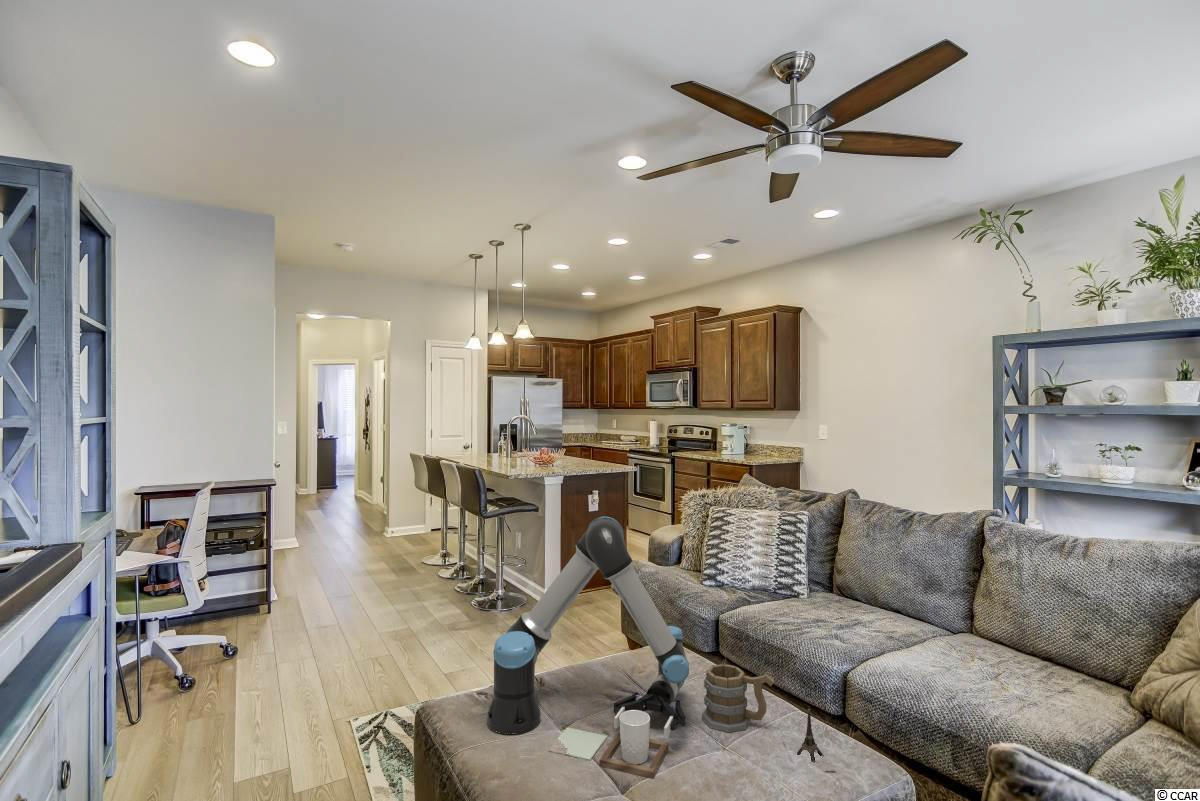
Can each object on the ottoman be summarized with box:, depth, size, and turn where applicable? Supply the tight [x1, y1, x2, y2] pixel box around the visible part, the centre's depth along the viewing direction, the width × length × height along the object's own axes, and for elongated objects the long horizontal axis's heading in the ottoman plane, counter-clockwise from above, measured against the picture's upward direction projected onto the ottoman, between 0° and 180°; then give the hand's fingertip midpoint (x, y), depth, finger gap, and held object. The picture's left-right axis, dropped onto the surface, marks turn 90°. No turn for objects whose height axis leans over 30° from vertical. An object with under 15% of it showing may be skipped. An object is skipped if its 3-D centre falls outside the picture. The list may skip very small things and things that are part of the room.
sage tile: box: [556, 727, 608, 762], centre depth 155 cm, size 12×12×1 cm
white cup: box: [619, 710, 651, 765], centre depth 149 cm, size 8×8×10 cm
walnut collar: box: [598, 731, 670, 779], centre depth 149 cm, size 14×14×2 cm
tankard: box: [701, 663, 775, 733], centre depth 166 cm, size 20×13×15 cm, turn 62°
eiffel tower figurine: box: [796, 707, 837, 773], centre depth 151 cm, size 15×10×13 cm
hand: (639, 728), depth 151 cm, fingers open, 13 cm apart
